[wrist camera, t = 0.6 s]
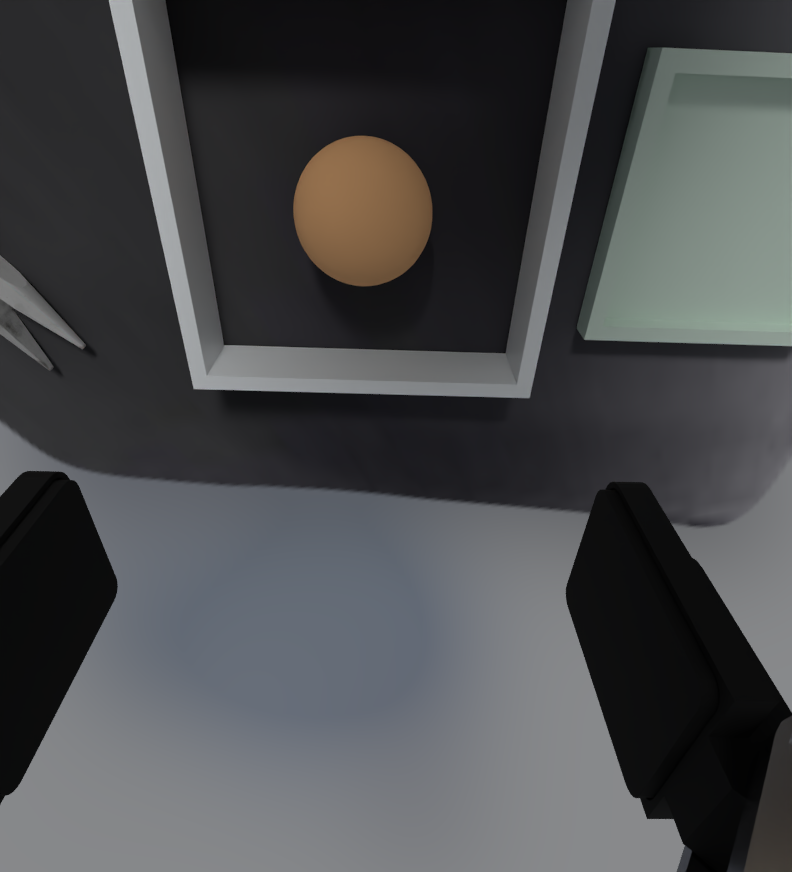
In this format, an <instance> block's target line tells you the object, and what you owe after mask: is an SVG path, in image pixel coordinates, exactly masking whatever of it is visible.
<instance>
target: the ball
mask: <svg viewBox="0 0 792 872" xmlns="http://www.w3.org/2000/svg"><path fill="white" fill-rule="evenodd" d="M293 212H294V222H295V227H296V231H297V235H298V237H299V240H300V242H301V245H302V247H303V248H304V250H305V252H306V253H307V255H308V256H309V258H310V259H311V260H312V261H313V262H314V264H315V265H316V266H317V267H318V268H320V269H321V270H322V271H323V272H324V273H326V274H327V275H329V276H330V277H332V278H334V279H336V280H338V281H340V282H343V283H346V284H350V285H354V286H374V285H379V284H383V283H386V282H389V281H391V280H393V279H395V278H397V277H399V276H400V275H402V274H403V273H404V272H406V271H407V270H408V269H409V268H410V267H411V266H412V265H413V264H414V263H415V262H416V260H417V259H418V258H419V256H420V255H421V253H422V251H423V249H424V248H425V246H426V243H427V241H428V238H429V235H430V231H431V225H432V200H431V195H430V191H429V187H428V185H427V182H426V179H425V178H424V176H423V174H422V172H421V170H420V169H419V167H418V166H417V165H416V163H415V162H414V161H413V160H412V158H411V157H410V156H409V155H408V154H407V153H405V152H404V151H403V150H402V149H401V148H399V147H397V146H396V145H394V144H393V143H391V142H388V141H386V140H384V139H380V138H376V137H372V136H351V137H346V138H343V139H340V140H337V141H335V142H333V143H331V144H329V145H327V146H326V147H324V148H323V149H322V150H320V151H319V152H318V153H317V154H316V155H315V156H314V157H313V158H312V159H311V160H310V162H309V163H308V164H307V165H306V167H305V169H304V171H303V172H302V174H301V176H300V179H299V181H298V184H297V187H296V191H295V196H294V204H293Z"/></svg>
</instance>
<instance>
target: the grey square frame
mask: <svg viewBox="0 0 792 872" xmlns="http://www.w3.org/2000/svg"><path fill="white" fill-rule="evenodd" d="M615 2H616V0H567V5H566V11H565V16H564V22H563V28H562V33H561V39H560V45H559V51H558V56H557V62H556V68H555V73H554V79H553V85H552V91H551V96H550V102H549V108H548V113H547V119H546V125H545V130H544V136H543V142H542V148H541V153H540V159H539V165H538V170H537V176H536V182H535V188H534V193H533V199H532V205H531V210H530V216H529V222H528V227H527V233H526V239H525V245H524V250H523V256H522V262H521V267H520V273H519V279H518V284H517V290H516V296H515V302H514V307H513V313H512V319H511V324H510V330H509V336H508V342H507V347H506V353H475V352H441V351H407V350H373V349H339V348H305V347H271V346H237V345H224V342H223V336H222V330H221V324H220V318H219V312H218V307H217V301H216V295H215V289H214V283H213V277H212V271H211V265H210V260H209V254H208V248H207V242H206V236H205V230H204V224H203V218H202V213H201V207H200V201H199V195H198V189H197V183H196V177H195V171H194V166H193V160H192V154H191V148H190V142H189V136H188V130H187V124H186V119H185V113H184V107H183V101H182V95H181V89H180V83H179V77H178V72H177V66H176V60H175V54H174V48H173V42H172V36H171V30H170V25H169V19H168V13H167V7H166V1H165V0H109V4H110V8H111V13H112V17H113V22H114V26H115V31H116V36H117V40H118V45H119V49H120V54H121V58H122V63H123V68H124V72H125V77H126V81H127V86H128V90H129V95H130V100H131V104H132V109H133V113H134V118H135V122H136V127H137V132H138V136H139V141H140V145H141V150H142V154H143V159H144V164H145V168H146V173H147V177H148V182H149V186H150V191H151V196H152V200H153V205H154V209H155V214H156V218H157V223H158V227H159V232H160V237H161V241H162V246H163V250H164V255H165V259H166V264H167V269H168V273H169V278H170V282H171V287H172V291H173V296H174V301H175V305H176V310H177V314H178V319H179V323H180V328H181V333H182V337H183V342H184V346H185V351H186V355H187V360H188V365H189V369H190V374H191V378H192V383H193V387H194V389H212V390H248V391H285V392H322V393H359V394H395V395H432V396H469V397H505V398H530V394H531V389H532V384H533V380H534V375H535V371H536V366H537V361H538V357H539V352H540V347H541V343H542V338H543V334H544V329H545V324H546V320H547V315H548V311H549V306H550V301H551V297H552V292H553V288H554V283H555V278H556V274H557V269H558V265H559V260H560V255H561V251H562V246H563V241H564V237H565V232H566V228H567V223H568V218H569V214H570V209H571V205H572V200H573V195H574V191H575V186H576V182H577V177H578V172H579V168H580V163H581V159H582V154H583V149H584V145H585V140H586V135H587V131H588V126H589V122H590V117H591V112H592V108H593V103H594V99H595V94H596V89H597V85H598V80H599V76H600V71H601V66H602V62H603V57H604V53H605V48H606V43H607V39H608V34H609V29H610V25H611V20H612V16H613V11H614V6H615Z"/></svg>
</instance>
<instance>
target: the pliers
mask: <svg viewBox="0 0 792 872" xmlns="http://www.w3.org/2000/svg"><path fill="white" fill-rule="evenodd" d="M11 307H13V308H14V309H16V310H18V311H19V312H21V313H23V314H24V315H26V316H28V317H29V318H31V319H33V320H34V321H36V322H38V323H39V324H41V325H43V326H44V327H46V328H48V329H50V330H51V331H53V332H55V333H56V334H58V335H60V336H61V337H63V338H65V339H66V340H68V341H70V342H71V343H73V344H75V345H76V346H78V347H80V348H81V349H83V348H84V347H85V346H86V344H85V343H84V342H83V341H82V340H81V339H80V338H79V337H78V336H77V335H76V334H75V332H74V331H73V330H72V329H71V328H70V327H69V326H68V325H67V324H66V323H65V321H64V320H63V319H62V318H61V317H60V316H59V315H58V314H57V313H56V312H55V311H54V309H53V308H52V307H51V306H50V305H49V304H48V303H47V302H46V301H45V300H44V299H43V297H42V296H41V295H40V294H39V293H38V292H37V291H36V290H35V289H34V288H33V287H32V285H31V284H30V283H29V282H28V281H27V280H26V279H25V278H24V277H23V276H22V275H21V273H20V272H19V271H17V270H16V269H15V268H14V267H13V266H12V265H11V264H10V263H8V262H7V261H6V260H5V259H4V258H3V257H1V256H0V334H1V335H2V336H4V337H5V338H6V339H8V340H9V341H10V342H12V343H13V344H14V345H16V346H17V347H18V348H20V349H21V350H22V351H24V352H25V353H26V354H28V355H29V356H31V357H32V358H33V359H35V360H36V361H37V362H39V363H40V364H41V365H43V366H44V367H45V368H47V369H48V370H49V371H51V370H52V369H53V368H54V367H53V365H52V364H51V362H50V361H49V359H48V358H47V357H46V355H45V354H44V352H43V351H42V350H41V348H40V347H39V345H38V344H37V343H36V341H35V340H34V338H33V337H32V335H31V334H30V333H29V331H28V330H27V328H26V327H25V326H24V324H23V323H22V321H21V320H20V319H19V317H18V316H17V314H16V313H15V311H14V310H13V309H12V308H11Z"/></svg>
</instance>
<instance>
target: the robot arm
mask: <svg viewBox="0 0 792 872" xmlns="http://www.w3.org/2000/svg"><path fill="white" fill-rule="evenodd" d="M117 587H118V586H117V579H116V576H115V574H114V571H113V569H112V566H111V564H110V562H109V559H108V557H107V554H106V552H105V549H104V547H103V544H102V542H101V539H100V537H99V535H98V532H97V530H96V527H95V525H94V522H93V520H92V517H91V515H90V512H89V510H88V508H87V505H86V503H85V500H84V498H83V495H82V493H81V490H80V488H79V486H78V484H77V483H76V482H75V481H73V480H70V479H69V478H68V476H67V475H66V474H65V473H63V472H49V471H45V472H44V471H27V472H24V473H22V474H21V475H20V476H19V477H18V478H17V479H16V480H15V481H14V482H13V483H12V484H11V486H9V488H8V489H7V490H6V491H5V492H4V493H3V494H2V495H1V497H0V804H1V802H2V800H3V798H4V796H5V795H9V794H10V793H12V792H13V791H14V790H15V789H16V788H17V787H18V785H19V784H20V782H21V780H22V779H23V776H24V774H25V773H26V771H27V769H28V767H29V765H30V763H31V761H32V759H33V757H34V755H35V753H36V751H37V749H38V747H39V746H40V744H41V741H42V740H43V738H44V736H45V734H46V732H47V730H48V728H49V726H50V724H51V722H52V720H53V718H54V716H55V714H56V712H57V710H58V709H59V707H60V705H61V703H62V701H63V699H64V697H65V695H66V693H67V691H68V689H69V687H70V685H71V683H72V681H73V679H74V677H75V676H76V674H77V672H78V670H79V668H80V665H81V664H82V662H83V660H84V658H85V656H86V654H87V652H88V650H89V648H90V646H91V644H92V642H93V640H94V639H95V637H96V635H97V633H98V631H99V629H100V627H101V625H102V623H103V621H104V619H105V617H106V615H107V613H108V611H109V609H110V607H111V605H112V603H113V602H114V599H115V597H116V593H117ZM566 600H567V605H568V608H569V611H570V614H571V617H572V621H573V624H574V627H575V630H576V633H577V636H578V639H579V642H580V645H581V648H582V651H583V654H584V657H585V660H586V663H587V667H588V669H589V673H590V676H591V679H592V682H593V685H594V688H595V691H596V694H597V697H598V700H599V703H600V706H601V710H602V712H603V716H604V719H605V722H606V725H607V728H608V731H609V734H610V737H611V740H612V743H613V746H614V749H615V752H616V756H617V759H618V761H619V764H620V768H621V771H622V774H623V777H624V780H625V783H626V786H627V788H628V790H629V792H630V794H631V795H632V796H633V797H635V798H640V799H641V802H642V805H643V808H644V811H645V814H646V817H647V819H674V821H675V823H676V826H677V829H678V831H679V834H680V837H681V839H682V842H683V844H684V845H685V847H684V850H683V853H682V857H681V860H680V863H679V866H678V869H677V872H792V712H791V711H790V709H789V708H788V706H787V704H786V703H785V701H784V700H783V698H782V696H781V695H780V693H779V691H778V690H777V688H776V686H775V685H774V683H773V682H772V680H771V678H770V677H769V675H768V673H767V672H766V670H765V669H764V667H763V665H762V664H761V662H760V661H759V659H758V657H757V656H756V654H755V653H754V651H753V649H752V648H751V646H750V644H749V643H748V641H747V639H746V638H745V636H744V635H743V633H742V631H741V630H740V628H739V626H738V625H737V623H736V622H735V620H734V618H733V617H732V615H731V614H730V612H729V610H728V609H727V607H726V605H725V604H724V602H723V601H722V599H721V597H720V596H719V594H718V593H717V591H716V589H715V588H714V586H713V584H712V583H711V581H710V580H709V578H708V576H707V575H706V573H705V572H704V570H703V568H702V567H701V566H700V564H699V563H698V562H697V561H696V560H695V559H693V558H692V557H691V556H690V554H689V552H688V551H687V549H686V547H685V546H684V544H683V543H682V541H681V539H680V537H679V536H678V534H677V533H676V531H675V530H674V528H673V526H672V524H671V523H670V521H669V519H668V518H667V516H666V514H665V513H664V511H663V510H662V508H661V506H660V505H659V503H658V501H657V500H656V498H655V496H654V495H653V493H652V491H651V490H650V488H649V487H648V486H647V485H646V484H645V483H643V482H611V483H610V484H609V485H608V486H607V488H606V490H599V491H598V493H597V495H596V497H595V500H594V504H593V507H592V510H591V513H590V516H589V519H588V522H587V525H586V528H585V531H584V534H583V537H582V540H581V543H580V546H579V549H578V552H577V556H576V559H575V562H574V565H573V568H572V571H571V574H570V577H569V580H568V583H567V587H566Z"/></svg>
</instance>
